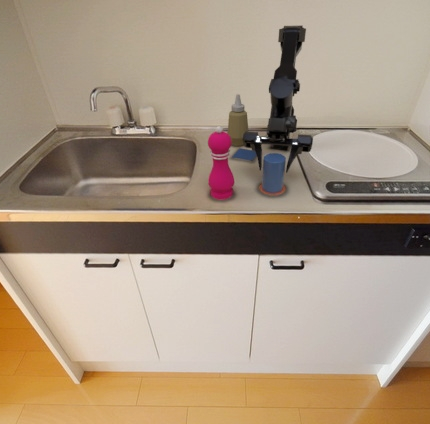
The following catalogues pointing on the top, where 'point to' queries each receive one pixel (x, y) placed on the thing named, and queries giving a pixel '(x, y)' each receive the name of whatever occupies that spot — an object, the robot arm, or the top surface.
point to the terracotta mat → (271, 193)
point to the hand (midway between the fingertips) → (273, 171)
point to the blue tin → (273, 172)
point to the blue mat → (245, 154)
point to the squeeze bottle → (237, 122)
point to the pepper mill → (220, 165)
